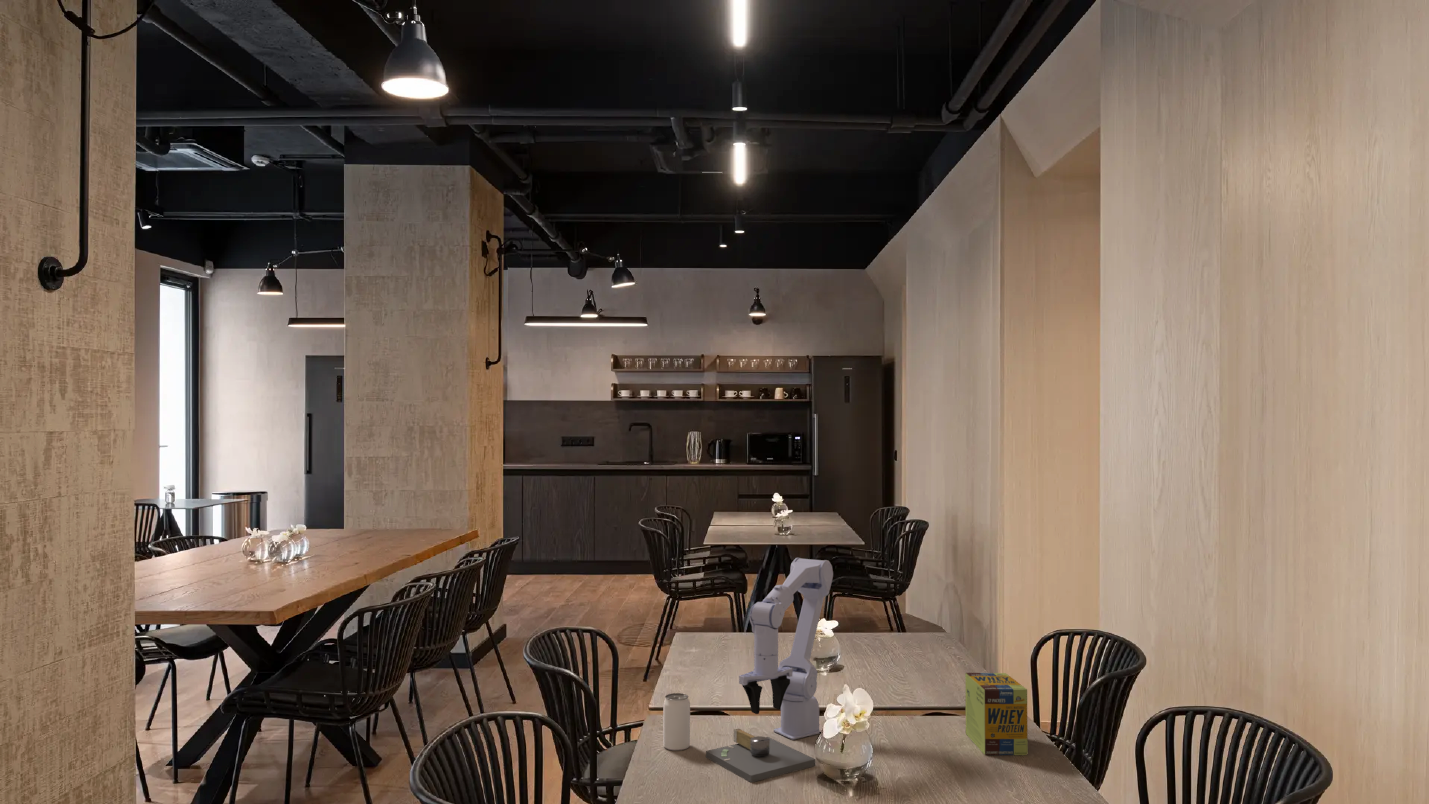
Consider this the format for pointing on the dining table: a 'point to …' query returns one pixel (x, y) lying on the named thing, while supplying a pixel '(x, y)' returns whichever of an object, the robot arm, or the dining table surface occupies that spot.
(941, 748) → the dining table surface
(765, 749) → the brown bar with cylinder
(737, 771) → the dial board
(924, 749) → the dining table surface
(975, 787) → the dining table surface
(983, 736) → the protein box
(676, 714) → the can
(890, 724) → the dining table surface
